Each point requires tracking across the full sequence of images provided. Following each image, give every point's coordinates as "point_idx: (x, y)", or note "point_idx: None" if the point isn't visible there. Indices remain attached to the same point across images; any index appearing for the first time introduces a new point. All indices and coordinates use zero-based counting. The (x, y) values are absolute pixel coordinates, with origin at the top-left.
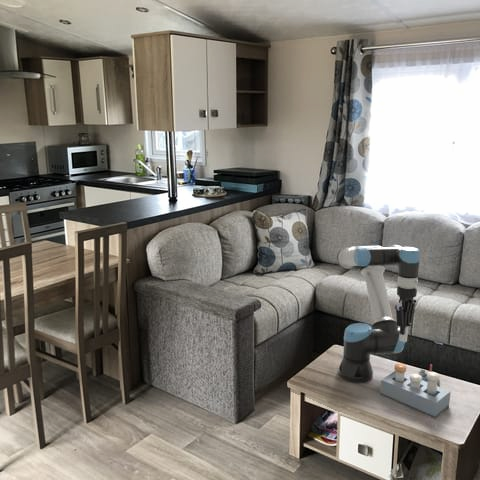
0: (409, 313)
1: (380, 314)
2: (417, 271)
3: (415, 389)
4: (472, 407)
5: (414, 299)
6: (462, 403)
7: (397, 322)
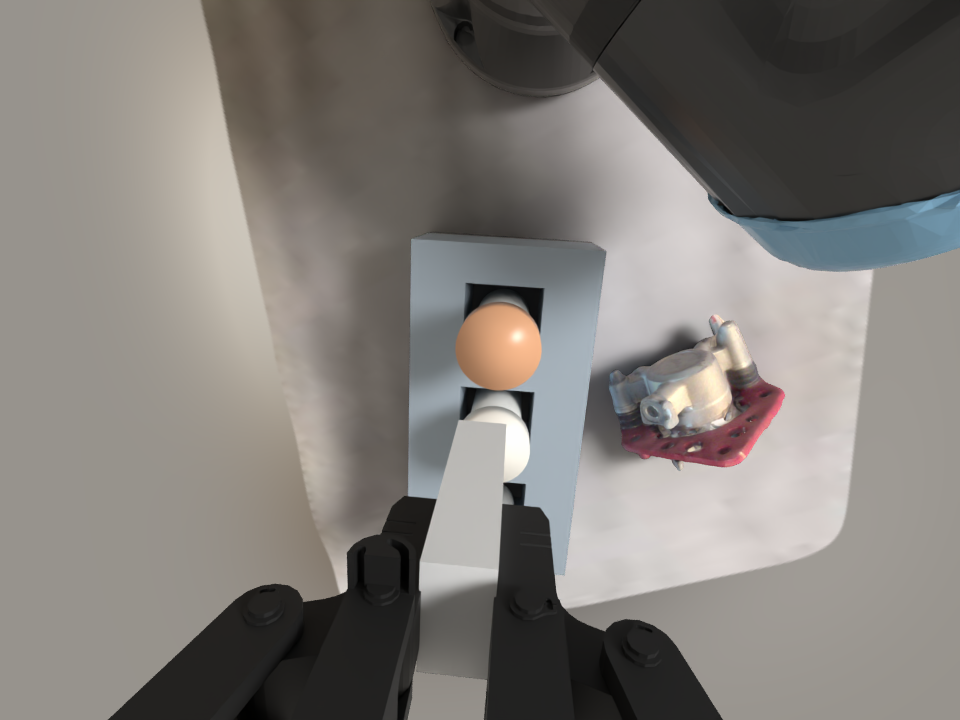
0: None
1: None
2: None
3: (452, 441)
4: (620, 587)
5: None
6: (627, 551)
7: (170, 678)
